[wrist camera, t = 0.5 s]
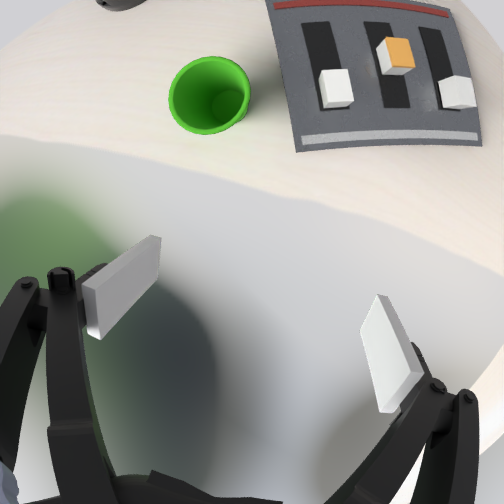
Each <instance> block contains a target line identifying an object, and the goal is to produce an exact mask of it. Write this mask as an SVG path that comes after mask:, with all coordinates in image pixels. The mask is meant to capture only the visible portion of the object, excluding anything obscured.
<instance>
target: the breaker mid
mask: <svg viewBox="0 0 504 504" xmlns="http://www.w3.org/2000/svg"><path fill="white" fill-rule="evenodd" d="M376 51H377V55H378V59H379V63H380V67H381V71H382V75H403V74H405V73H406V72H408V71H410V70H411V69H413V68H415V63H414V59H413V55H412V51H411V48H410V44H409V41H408V39H404V38H393V37H386V38H385V39H384V40H383V41H382V42H381V44H380V45H379V46H378V47H377V48H376Z"/></svg>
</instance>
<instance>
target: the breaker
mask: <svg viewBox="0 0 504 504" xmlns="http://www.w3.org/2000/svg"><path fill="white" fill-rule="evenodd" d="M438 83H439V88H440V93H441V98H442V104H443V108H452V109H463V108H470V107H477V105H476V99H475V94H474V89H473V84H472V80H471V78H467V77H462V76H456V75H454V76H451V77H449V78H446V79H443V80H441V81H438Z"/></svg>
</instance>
